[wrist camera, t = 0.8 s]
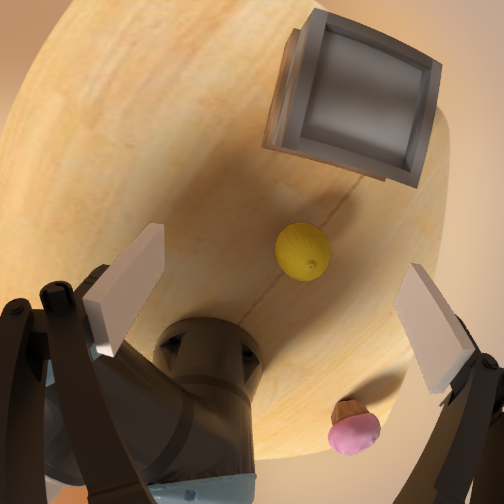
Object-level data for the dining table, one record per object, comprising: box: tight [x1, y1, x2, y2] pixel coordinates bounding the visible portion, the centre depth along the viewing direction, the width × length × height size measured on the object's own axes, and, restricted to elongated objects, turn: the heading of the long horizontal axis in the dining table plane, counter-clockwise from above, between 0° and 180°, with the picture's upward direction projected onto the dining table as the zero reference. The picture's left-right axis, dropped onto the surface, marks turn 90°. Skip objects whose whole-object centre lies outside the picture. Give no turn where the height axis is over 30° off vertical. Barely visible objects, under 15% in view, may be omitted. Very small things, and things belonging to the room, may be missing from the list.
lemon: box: [275, 222, 331, 281], centre depth 30 cm, size 6×6×8 cm
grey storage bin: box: [262, 8, 442, 189], centre depth 23 cm, size 12×12×12 cm
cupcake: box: [328, 399, 381, 455], centre depth 41 cm, size 9×9×10 cm
